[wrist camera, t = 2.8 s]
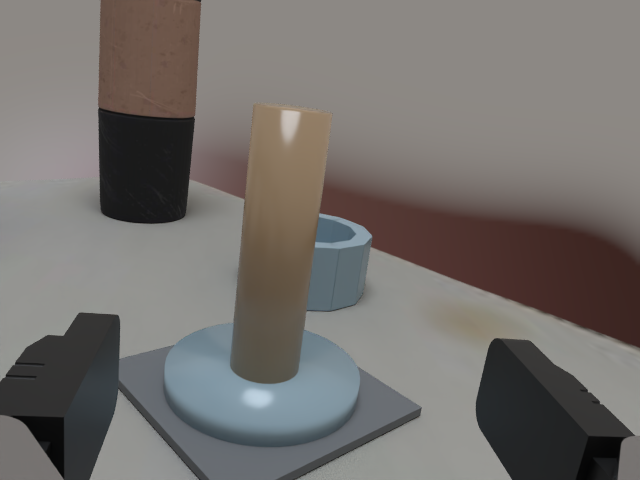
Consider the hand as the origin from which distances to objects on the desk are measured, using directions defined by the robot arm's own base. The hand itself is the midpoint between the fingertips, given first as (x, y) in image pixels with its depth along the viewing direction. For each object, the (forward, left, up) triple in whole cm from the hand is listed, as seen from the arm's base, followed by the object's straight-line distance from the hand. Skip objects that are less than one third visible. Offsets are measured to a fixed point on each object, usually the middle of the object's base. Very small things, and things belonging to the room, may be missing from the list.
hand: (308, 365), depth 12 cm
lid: (-9, +7, -8) cm, 14 cm away
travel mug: (-37, +15, -8) cm, 41 cm away
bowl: (-18, +17, -8) cm, 26 cm away
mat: (-9, +7, -8) cm, 14 cm away
